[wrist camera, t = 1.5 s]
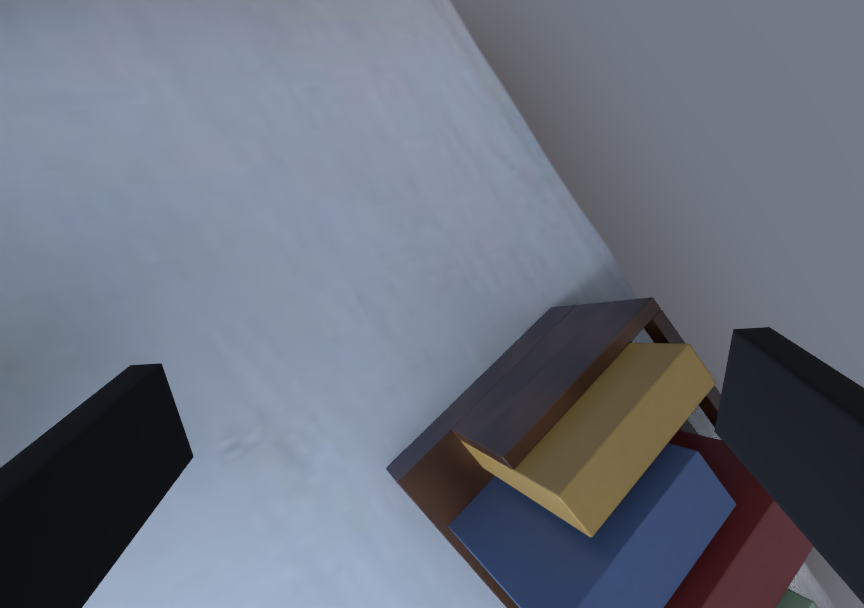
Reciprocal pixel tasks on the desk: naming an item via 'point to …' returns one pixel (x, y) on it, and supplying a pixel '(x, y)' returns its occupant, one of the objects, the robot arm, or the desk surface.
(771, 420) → the robot arm
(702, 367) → the shelf books
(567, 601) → the blue book
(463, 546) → the book rack
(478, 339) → the desk surface
